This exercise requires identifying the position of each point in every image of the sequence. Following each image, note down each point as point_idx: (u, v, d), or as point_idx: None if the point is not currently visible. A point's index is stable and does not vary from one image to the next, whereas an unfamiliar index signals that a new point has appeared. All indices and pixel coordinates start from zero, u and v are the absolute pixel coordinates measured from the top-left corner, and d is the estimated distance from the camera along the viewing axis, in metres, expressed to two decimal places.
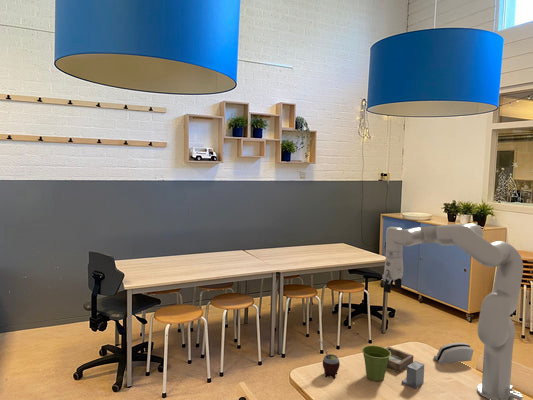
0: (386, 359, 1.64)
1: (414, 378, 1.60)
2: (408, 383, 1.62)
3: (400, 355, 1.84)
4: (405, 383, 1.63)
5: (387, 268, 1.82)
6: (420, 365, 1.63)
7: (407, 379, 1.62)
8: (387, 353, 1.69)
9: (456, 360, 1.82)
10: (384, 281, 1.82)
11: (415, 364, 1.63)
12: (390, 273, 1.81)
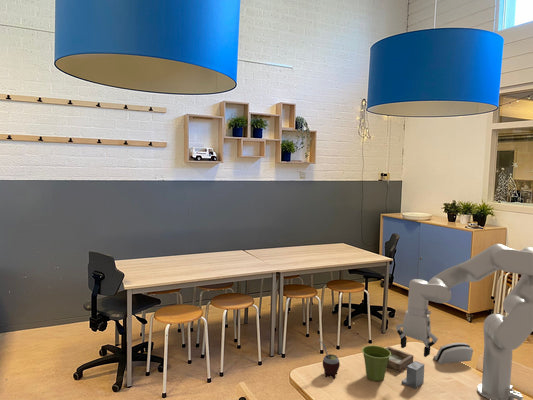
0: (386, 359, 1.64)
1: (414, 378, 1.60)
2: (408, 383, 1.62)
3: (400, 355, 1.84)
4: (405, 383, 1.63)
5: (428, 329, 1.58)
6: (420, 365, 1.63)
7: (407, 379, 1.62)
8: (387, 353, 1.69)
9: (456, 360, 1.82)
10: (431, 345, 1.57)
11: (415, 364, 1.63)
12: None
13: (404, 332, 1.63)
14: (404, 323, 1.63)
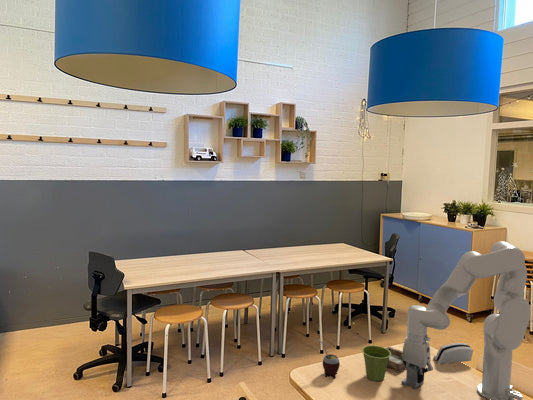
0: (386, 359, 1.64)
1: (414, 378, 1.60)
2: (408, 383, 1.62)
3: (400, 355, 1.84)
4: (405, 383, 1.63)
5: (427, 355, 1.58)
6: None
7: (407, 379, 1.62)
8: (387, 353, 1.69)
9: (456, 360, 1.82)
10: None
11: None
12: None
13: (404, 358, 1.64)
14: (404, 349, 1.64)
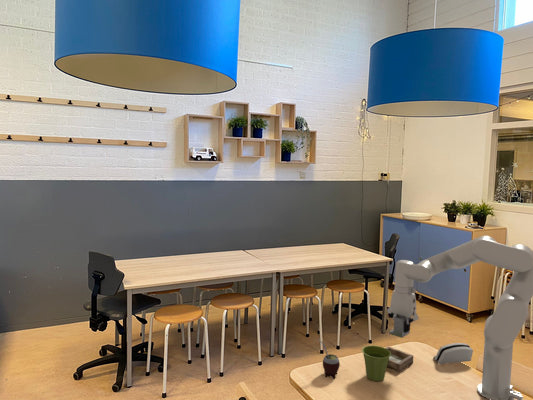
0: (386, 359, 1.64)
1: (401, 327, 1.70)
2: (395, 332, 1.72)
3: (400, 355, 1.84)
4: (392, 333, 1.73)
5: (413, 306, 1.69)
6: None
7: (394, 329, 1.72)
8: (387, 353, 1.69)
9: (456, 360, 1.82)
10: None
11: None
12: None
13: (392, 310, 1.75)
14: (391, 301, 1.74)
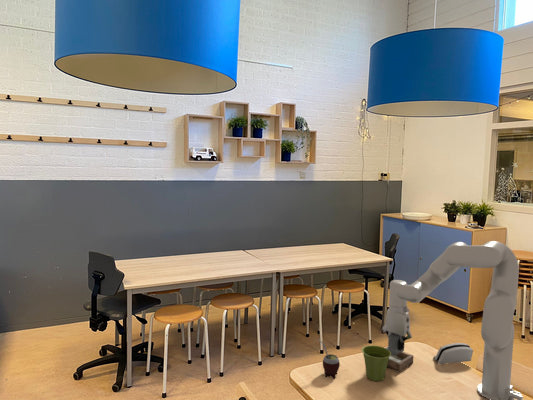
0: (386, 359, 1.64)
1: (395, 345, 1.76)
2: (389, 350, 1.78)
3: (400, 355, 1.84)
4: None
5: (407, 325, 1.75)
6: None
7: (389, 347, 1.78)
8: (387, 353, 1.69)
9: (456, 360, 1.82)
10: None
11: (396, 334, 1.80)
12: None
13: (386, 328, 1.81)
14: (386, 320, 1.80)
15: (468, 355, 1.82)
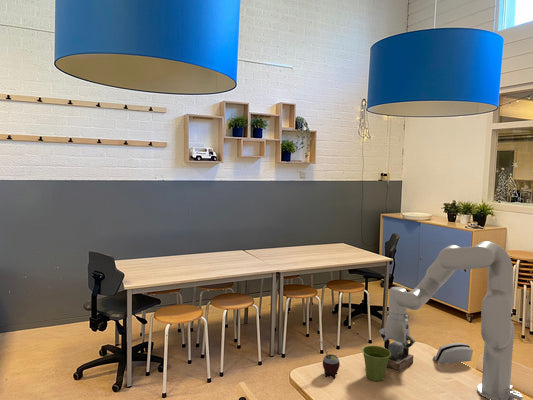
0: (386, 359, 1.64)
1: (395, 355, 1.77)
2: None
3: None
4: None
5: (406, 331, 1.75)
6: (400, 344, 1.79)
7: None
8: (387, 353, 1.69)
9: (455, 360, 1.82)
10: None
11: (396, 343, 1.80)
12: None
13: (386, 335, 1.81)
14: (386, 327, 1.81)
15: (468, 355, 1.82)
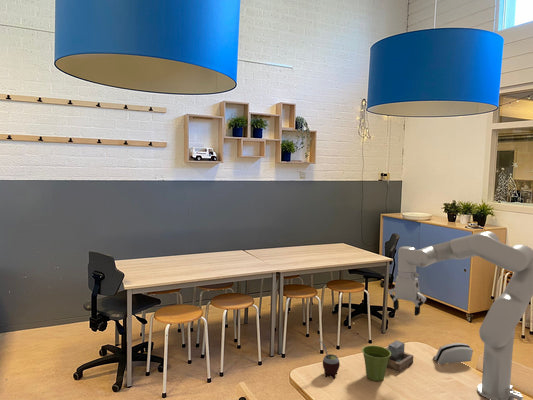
0: (386, 359, 1.64)
1: (395, 355, 1.77)
2: None
3: None
4: None
5: (417, 290, 1.75)
6: (400, 344, 1.79)
7: None
8: (387, 353, 1.69)
9: (455, 360, 1.81)
10: None
11: (396, 343, 1.80)
12: None
13: (396, 295, 1.80)
14: (395, 287, 1.80)
15: (468, 355, 1.82)
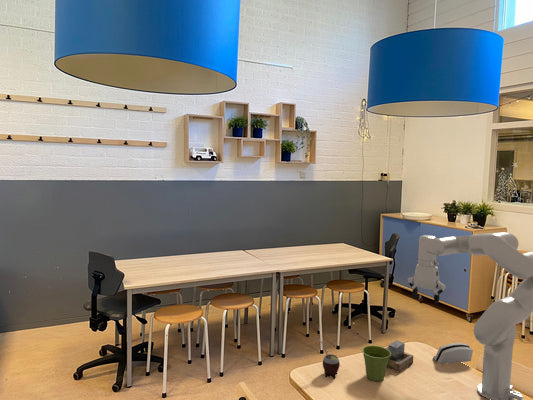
0: (386, 359, 1.64)
1: (395, 355, 1.77)
2: None
3: None
4: None
5: (437, 278, 1.77)
6: (400, 344, 1.79)
7: None
8: (387, 353, 1.69)
9: (455, 360, 1.81)
10: (440, 292, 1.76)
11: (396, 343, 1.80)
12: None
13: (415, 283, 1.82)
14: (415, 275, 1.82)
15: (468, 355, 1.81)
